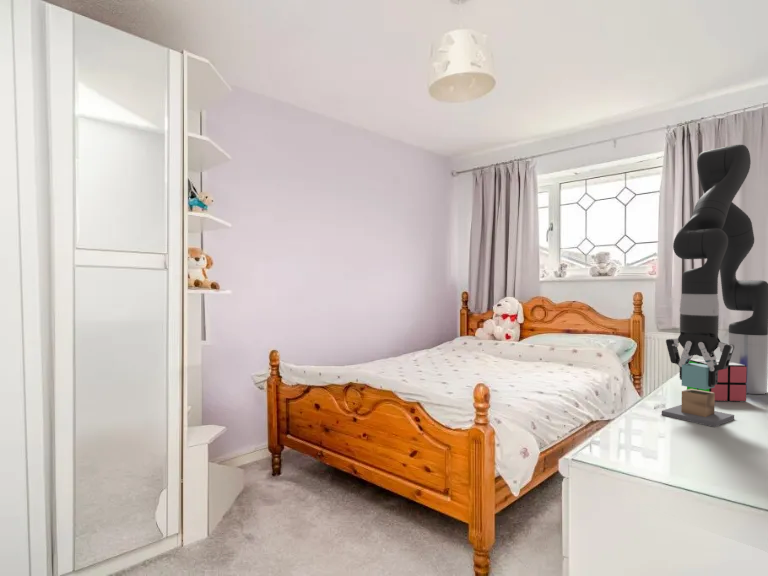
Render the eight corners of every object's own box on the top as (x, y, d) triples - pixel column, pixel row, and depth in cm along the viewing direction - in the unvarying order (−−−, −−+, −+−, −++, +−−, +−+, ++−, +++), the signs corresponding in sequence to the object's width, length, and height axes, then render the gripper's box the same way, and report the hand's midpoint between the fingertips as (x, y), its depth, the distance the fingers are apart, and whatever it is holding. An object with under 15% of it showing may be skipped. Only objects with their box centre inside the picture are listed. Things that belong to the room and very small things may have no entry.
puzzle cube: (747, 402, 123) (747, 365, 123) (709, 401, 123) (710, 364, 123) (720, 393, 133) (721, 359, 133) (686, 392, 133) (686, 359, 133)
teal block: (690, 383, 111) (691, 362, 111) (714, 387, 107) (714, 366, 107) (681, 385, 109) (681, 364, 109) (705, 389, 104) (705, 368, 104)
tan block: (690, 408, 111) (691, 388, 111) (714, 413, 107) (714, 392, 107) (681, 411, 109) (681, 391, 109) (705, 417, 104) (705, 395, 104)
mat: (682, 408, 116) (682, 404, 116) (734, 419, 106) (734, 414, 106) (661, 414, 109) (661, 410, 109) (714, 426, 100) (714, 422, 100)
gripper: (741, 314, 104) (740, 388, 104) (673, 311, 116) (672, 377, 116) (728, 315, 100) (727, 392, 100) (659, 311, 112) (658, 380, 112)
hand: (697, 384), depth 108 cm, fingers closed on teal block, 4 cm apart
